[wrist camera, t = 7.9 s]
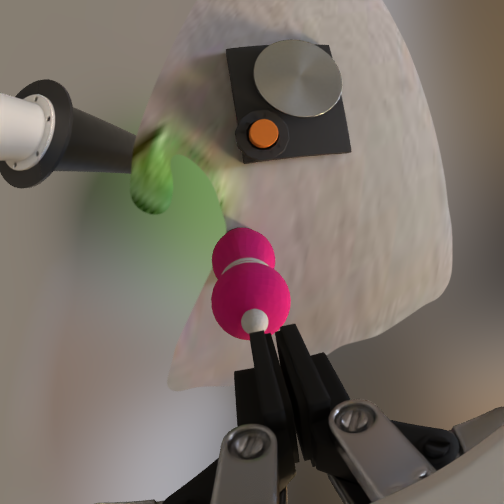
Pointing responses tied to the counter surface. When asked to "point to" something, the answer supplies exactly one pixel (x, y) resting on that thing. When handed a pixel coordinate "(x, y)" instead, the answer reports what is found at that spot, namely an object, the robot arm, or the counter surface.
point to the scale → (281, 117)
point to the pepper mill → (248, 285)
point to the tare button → (263, 133)
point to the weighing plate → (297, 78)
